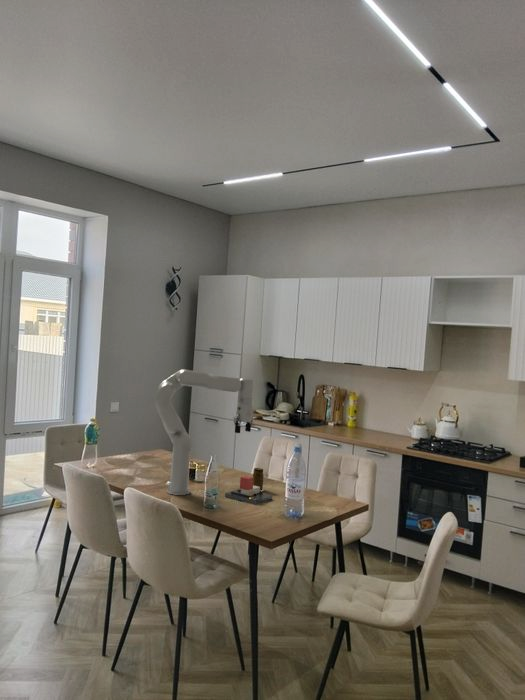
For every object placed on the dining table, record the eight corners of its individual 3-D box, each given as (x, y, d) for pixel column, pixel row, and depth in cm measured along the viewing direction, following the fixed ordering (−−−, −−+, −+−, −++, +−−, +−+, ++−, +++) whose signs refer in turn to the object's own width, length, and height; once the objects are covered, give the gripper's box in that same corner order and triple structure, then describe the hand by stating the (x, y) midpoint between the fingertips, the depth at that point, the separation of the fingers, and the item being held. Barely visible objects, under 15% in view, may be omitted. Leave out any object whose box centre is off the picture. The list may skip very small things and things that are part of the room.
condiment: (259, 488, 321) (261, 467, 321) (266, 491, 314) (268, 470, 314) (248, 488, 318) (249, 467, 318) (255, 492, 310) (257, 471, 310)
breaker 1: (240, 494, 295) (241, 488, 295) (246, 492, 300) (246, 487, 300) (248, 496, 293) (249, 490, 293) (254, 494, 297) (254, 489, 297)
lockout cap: (239, 488, 296) (240, 477, 296) (245, 486, 300) (245, 475, 300) (247, 490, 293) (248, 478, 293) (252, 488, 297) (253, 477, 297)
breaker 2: (246, 492, 301) (247, 486, 301) (251, 490, 305) (252, 485, 305) (254, 494, 298) (254, 488, 298) (259, 492, 302) (260, 486, 302)
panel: (225, 496, 297) (225, 491, 297) (241, 491, 310) (241, 486, 310) (256, 504, 286) (256, 499, 286) (272, 499, 299) (272, 494, 299)
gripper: (241, 402, 298) (239, 434, 298) (259, 401, 312) (257, 431, 312) (229, 400, 302) (227, 432, 302) (248, 399, 316) (246, 429, 316)
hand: (242, 432), depth 307 cm, fingers open, 9 cm apart
